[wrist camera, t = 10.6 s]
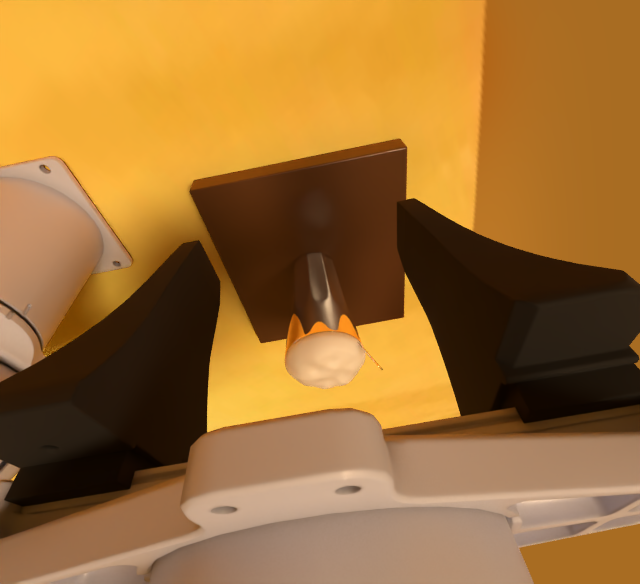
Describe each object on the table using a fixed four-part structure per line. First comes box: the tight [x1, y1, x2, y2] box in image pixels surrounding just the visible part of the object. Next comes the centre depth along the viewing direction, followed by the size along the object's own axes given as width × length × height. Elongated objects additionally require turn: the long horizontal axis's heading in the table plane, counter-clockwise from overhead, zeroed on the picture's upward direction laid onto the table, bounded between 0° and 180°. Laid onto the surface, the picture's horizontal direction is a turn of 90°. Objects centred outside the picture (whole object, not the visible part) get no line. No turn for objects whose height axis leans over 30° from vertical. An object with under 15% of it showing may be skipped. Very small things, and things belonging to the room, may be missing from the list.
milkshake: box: [285, 253, 383, 389], centre depth 21 cm, size 4×5×10 cm
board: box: [190, 139, 407, 343], centre depth 25 cm, size 13×15×2 cm
